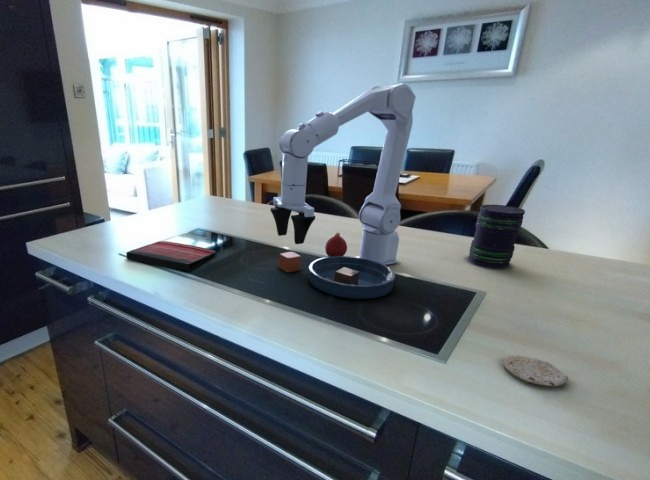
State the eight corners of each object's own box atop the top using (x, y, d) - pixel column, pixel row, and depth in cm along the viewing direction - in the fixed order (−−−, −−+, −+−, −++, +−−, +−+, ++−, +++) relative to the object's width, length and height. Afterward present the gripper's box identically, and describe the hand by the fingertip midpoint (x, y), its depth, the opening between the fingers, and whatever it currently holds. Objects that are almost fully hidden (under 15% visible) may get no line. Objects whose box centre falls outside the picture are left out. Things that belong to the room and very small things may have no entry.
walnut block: (342, 282, 93) (344, 266, 91) (357, 287, 90) (360, 271, 88) (333, 287, 90) (335, 271, 89) (348, 292, 87) (351, 276, 86)
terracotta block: (291, 265, 105) (292, 251, 103) (299, 270, 102) (300, 255, 100) (278, 267, 103) (279, 253, 102) (286, 272, 100) (287, 258, 99)
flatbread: (509, 381, 59) (511, 376, 59) (497, 354, 65) (498, 349, 65) (575, 394, 56) (577, 388, 56) (555, 365, 63) (557, 359, 62)
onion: (346, 264, 105) (349, 236, 102) (324, 263, 106) (327, 235, 103) (344, 257, 110) (347, 230, 107) (323, 256, 111) (326, 229, 108)
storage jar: (470, 266, 104) (484, 211, 98) (464, 254, 112) (477, 203, 107) (514, 271, 101) (531, 214, 95) (504, 259, 109) (520, 206, 103)
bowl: (352, 264, 106) (354, 251, 104) (411, 291, 89) (413, 277, 88) (292, 275, 98) (293, 262, 97) (344, 307, 82) (346, 292, 81)
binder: (188, 263, 100) (125, 251, 109) (188, 272, 100) (126, 259, 109) (218, 248, 113) (160, 239, 122) (218, 256, 114) (160, 246, 123)
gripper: (263, 180, 96) (261, 233, 101) (297, 190, 84) (293, 249, 89) (287, 178, 99) (284, 230, 104) (323, 187, 86) (318, 245, 92)
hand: (290, 239), depth 97 cm, fingers open, 7 cm apart
